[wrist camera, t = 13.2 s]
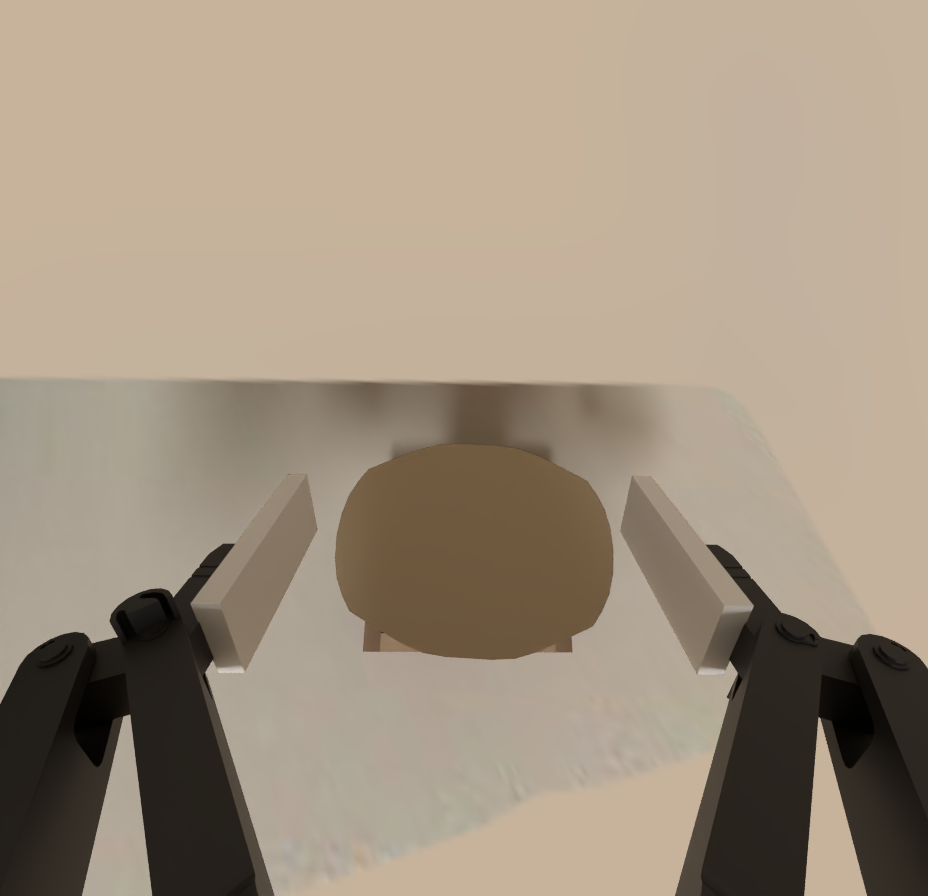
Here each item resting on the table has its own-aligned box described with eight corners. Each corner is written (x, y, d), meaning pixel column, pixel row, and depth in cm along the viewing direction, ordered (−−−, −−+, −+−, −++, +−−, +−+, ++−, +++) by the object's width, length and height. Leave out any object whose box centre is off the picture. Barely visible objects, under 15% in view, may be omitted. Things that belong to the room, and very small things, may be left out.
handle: (416, 525, 25) (351, 438, 10) (524, 531, 24) (607, 451, 10) (408, 612, 23) (319, 649, 9) (523, 619, 23) (620, 667, 9)
